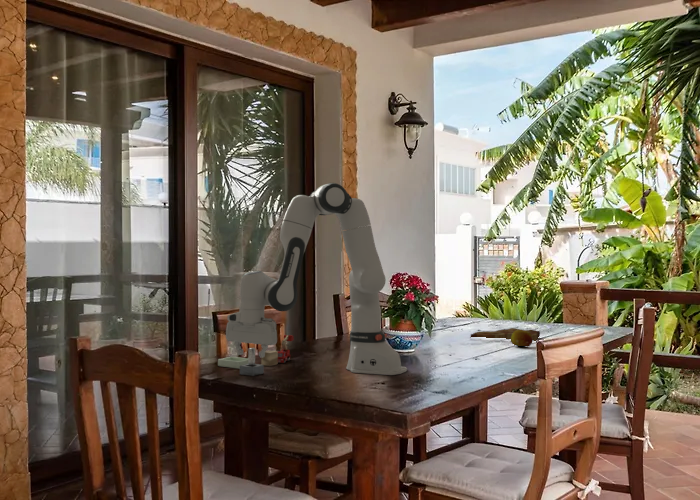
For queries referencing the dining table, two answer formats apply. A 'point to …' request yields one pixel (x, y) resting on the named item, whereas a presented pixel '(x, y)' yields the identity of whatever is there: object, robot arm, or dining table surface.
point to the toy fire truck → (285, 349)
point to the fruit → (521, 338)
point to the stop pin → (251, 357)
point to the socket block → (251, 369)
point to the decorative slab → (504, 333)
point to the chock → (270, 358)
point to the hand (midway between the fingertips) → (250, 355)
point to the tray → (232, 362)
